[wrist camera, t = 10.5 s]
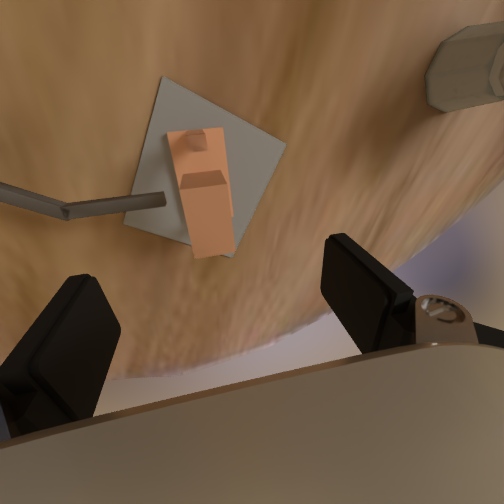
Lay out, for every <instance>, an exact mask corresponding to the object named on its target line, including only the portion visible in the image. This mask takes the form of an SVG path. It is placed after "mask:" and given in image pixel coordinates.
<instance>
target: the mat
mask: <svg viewBox="0 0 504 504" xmlns="http://www.w3.org/2000/svg"><path fill="white" fill-rule="evenodd" d="M216 127H223V131H224V140H225V148H226V156H227V165H228V173H229V181H230V190H231V198H232V206H233V214H234V217H232V225H233V233H234V241H235V249H237V247H238V245H239V243H240V241H241V239H242V236H243V234H244V232H245V230H246V228H247V226H248V224H249V222H250V220H251V218H252V216H253V214H254V212H255V209H256V207H257V205H258V203H259V201H260V199H261V197H262V195H263V193H264V191H265V189H266V187H267V184H268V182H269V180H270V178H271V176H272V174H273V172H274V170H275V168H276V166H277V164H278V162H279V159H280V157H281V155H282V153H283V151H284V149H285V147H286V145H287V144H286V143H284V142H282V141H280V140H278V139H277V138H275V137H273V136H271V135H269V134H267V133H266V132H264V131H262V130H260V129H258V128H257V127H255V126H253V125H251V124H249V123H247V122H246V121H244V120H242V119H240V118H238V117H237V116H235V115H233V114H231V113H229V112H227V111H226V110H224V109H222V108H220V107H218V106H217V105H215V104H213V103H211V102H209V101H207V100H206V99H204V98H202V97H200V96H198V95H197V94H195V93H193V92H191V91H189V90H187V89H186V88H184V87H182V86H180V85H178V84H177V83H175V82H173V81H171V80H169V79H167V78H166V77H164V76H162V80H161V84H160V87H159V91H158V95H157V99H156V102H155V106H154V110H153V113H152V117H151V121H150V125H149V128H148V132H147V136H146V140H145V143H144V147H143V151H142V155H141V158H140V162H139V166H138V170H137V173H136V177H135V181H134V185H133V188H132V192H131V195H137V194H145V193H153V192H161V191H164V193H165V197H166V201H167V204H166V207H158V208H151V209H143V210H136V211H128V212H126V215H125V218H124V222H123V224H124V225H128V226H131V227H134V228H137V229H141V230H144V231H147V232H150V233H154V234H157V235H160V236H163V237H166V238H170V239H173V240H176V241H179V242H183V243H186V244H189V245H191V240H190V236H189V231H188V227H187V222H186V218H185V214H184V209H183V205H182V200H181V196H180V192H179V185H178V181H177V176H176V172H175V167H174V163H173V159H172V154H171V150H170V145H169V141H168V136H167V132H173V131H184V130H195V129H205V128H216ZM234 253H235V252H234ZM234 253H228V254H222V255H224V256H228V257H231V258H232V257H233V255H234Z"/></svg>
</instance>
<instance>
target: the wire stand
mask: <svg viewBox="0 0 504 504" xmlns="http://www.w3.org/2000/svg"><path fill="white" fill-rule="evenodd" d="M0 202H3V203H7V204H10V205H14V206H17V207H21V208H24V209H27V210H31V211H34V212H38V213H41V214H45V215H48V216H51V217H55V218H58V219H62V220H65V221H69V220H70V219H75V218H83V217H90V216H98V215H105V214H113V213H120V212H128V211H136V210H143V209H151V208H158V207H166V204H167V201H166V197H165V193H164V191H161V192H153V193H145V194H137V195H129V196H121V197H113V198H105V199H97V200H89V201H80V202H72V203H66V202H62V201H59V200H56V199H53V198H50V197H46V196H43V195H40V194H37V193H34V192H31V191H27V190H24V189H21V188H18V187H15V186H12V185H8V184H5V183H2V182H0Z"/></svg>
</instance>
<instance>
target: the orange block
mask: <svg viewBox="0 0 504 504" xmlns="http://www.w3.org/2000/svg"><path fill="white" fill-rule="evenodd" d="M167 136H168V141H169V145H170V150H171V154H172V159H173V163H174V167H175V172H176V176H177V181H178V185H179V192H180V196H181V200H182V205H183V209H184V214H185V218H186V222H187V227H188V231H189V236H190V240H191V245H192V249H193V253H194V258H195V259H198V258H204V257H210V256H216V255H222V254H228V253H234V252H236V249H235V241H234V233H233V225H232V217H234V214H233V206H232V198H231V190H230V181H229V173H228V165H227V156H226V148H225V140H224V131H223V127H216V128H205V129H195V130H184V131H173V132H167Z"/></svg>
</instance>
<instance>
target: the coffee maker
mask: <svg viewBox="0 0 504 504" xmlns="http://www.w3.org/2000/svg"><path fill="white" fill-rule="evenodd" d="M425 84H426V96H427V104H428V105H430V106H432V107H434V108H436V109H438V110H440V111H442V112H444V113H447V112H452V111H456V110H461V109H466V108H470V107H475V106H480V105H484V104H489V103H494V102H498V101H502V100H504V21H502V22H494V23H487V24H480V25H472V26H467V27H466V28H464V29H462V30H461V31H459V32H457V33H456V34H454V35H452V36H451V37H449V38H448V39H446V40H444V41H443V42H441V44H440V46H439V48H438V50H437V52H436V54H435V56H434V58H433V60H432V62H431V64H430V66H429V68H428V70H427V72H426V74H425Z"/></svg>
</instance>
